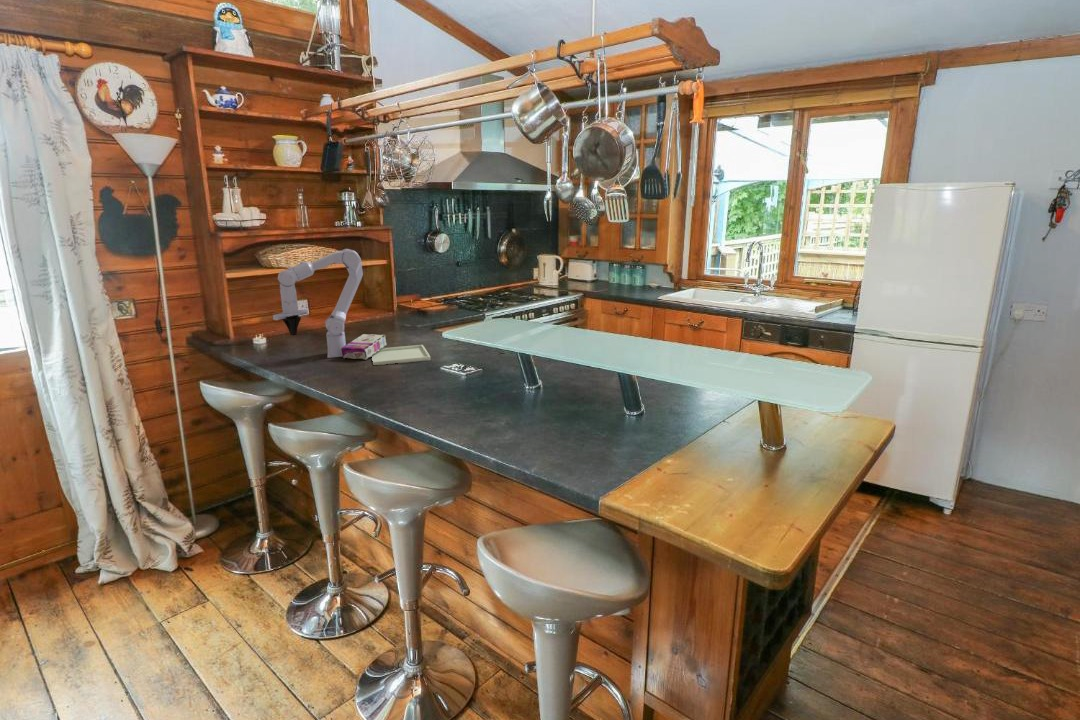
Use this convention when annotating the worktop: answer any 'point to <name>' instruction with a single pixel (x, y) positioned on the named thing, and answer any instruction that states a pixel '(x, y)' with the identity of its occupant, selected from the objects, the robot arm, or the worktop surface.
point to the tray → (400, 355)
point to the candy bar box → (364, 346)
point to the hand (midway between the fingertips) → (293, 335)
